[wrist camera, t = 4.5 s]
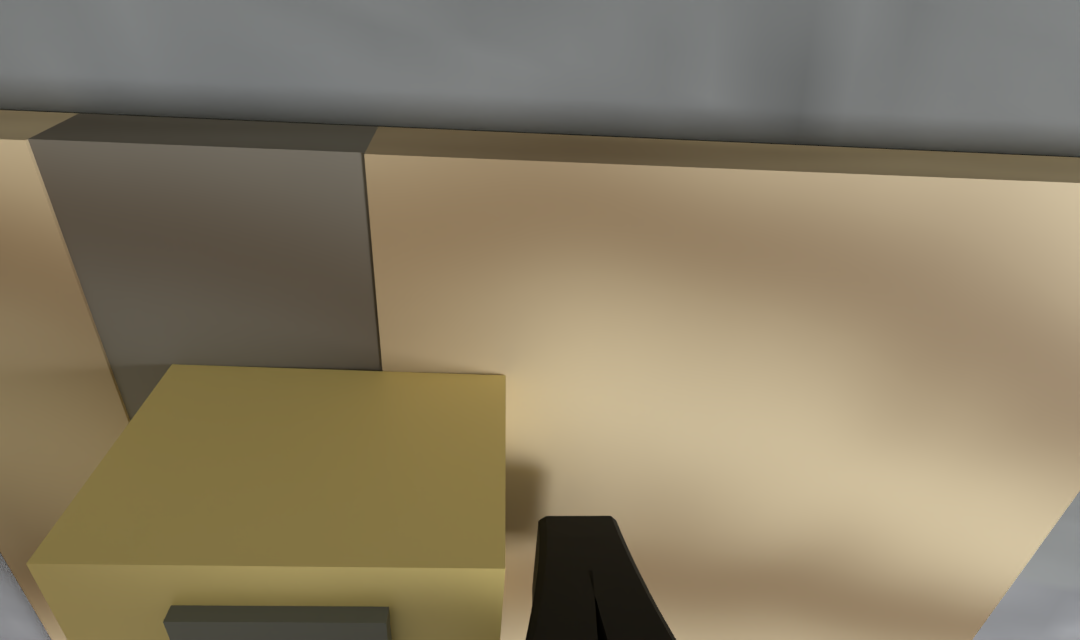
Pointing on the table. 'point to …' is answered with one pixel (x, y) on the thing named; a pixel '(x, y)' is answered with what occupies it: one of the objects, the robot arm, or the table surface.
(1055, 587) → the table surface
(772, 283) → the subfloor panel
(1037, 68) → the table surface
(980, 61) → the table surface
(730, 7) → the table surface
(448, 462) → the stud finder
